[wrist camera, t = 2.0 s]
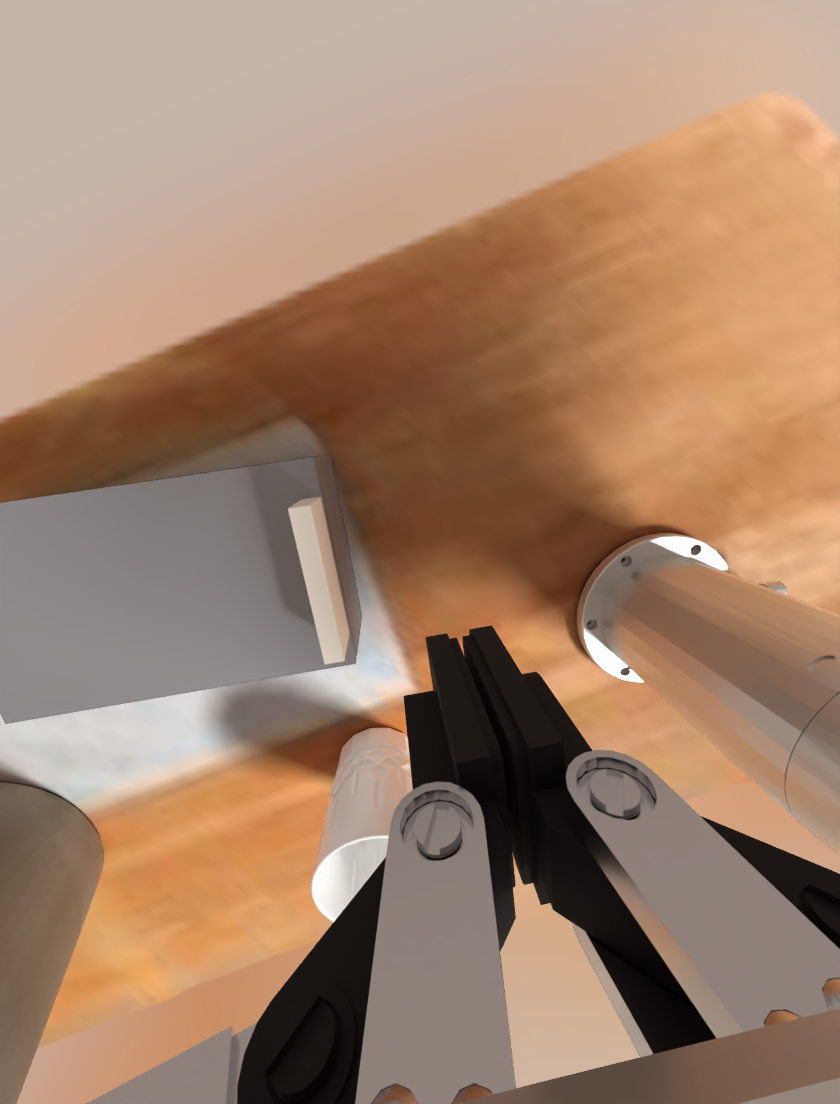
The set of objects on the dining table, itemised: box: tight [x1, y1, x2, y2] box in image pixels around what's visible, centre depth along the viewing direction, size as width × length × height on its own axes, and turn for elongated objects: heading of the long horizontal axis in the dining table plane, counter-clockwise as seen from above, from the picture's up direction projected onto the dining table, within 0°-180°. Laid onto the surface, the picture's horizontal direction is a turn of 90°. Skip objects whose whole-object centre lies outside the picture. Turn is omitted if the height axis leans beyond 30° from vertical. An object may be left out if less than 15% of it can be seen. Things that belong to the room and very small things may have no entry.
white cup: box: [311, 727, 413, 922], centre depth 29 cm, size 8×8×10 cm
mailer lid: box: [0, 457, 356, 724], centre depth 20 cm, size 20×12×4 cm, turn 98°
